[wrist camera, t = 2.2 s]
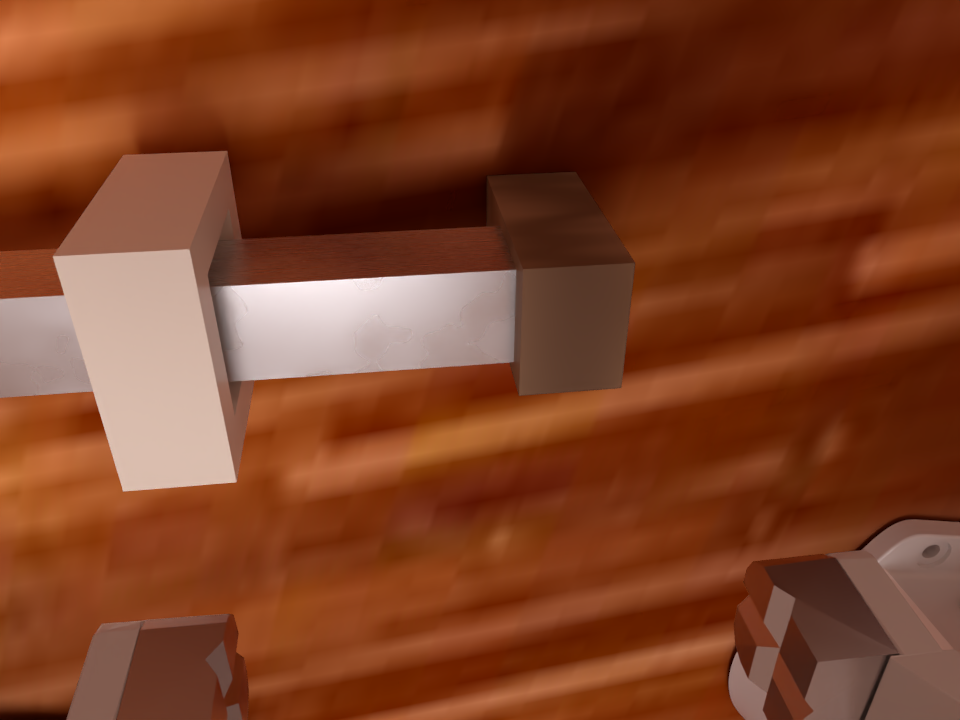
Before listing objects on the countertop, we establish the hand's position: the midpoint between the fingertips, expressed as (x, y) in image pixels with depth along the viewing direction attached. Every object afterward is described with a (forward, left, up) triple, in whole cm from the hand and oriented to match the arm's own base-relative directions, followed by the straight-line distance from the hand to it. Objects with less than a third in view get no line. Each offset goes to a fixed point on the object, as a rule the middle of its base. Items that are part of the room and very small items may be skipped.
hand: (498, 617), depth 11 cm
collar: (+7, +3, -19) cm, 21 cm away
